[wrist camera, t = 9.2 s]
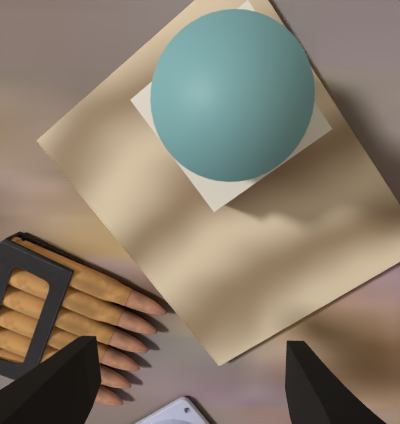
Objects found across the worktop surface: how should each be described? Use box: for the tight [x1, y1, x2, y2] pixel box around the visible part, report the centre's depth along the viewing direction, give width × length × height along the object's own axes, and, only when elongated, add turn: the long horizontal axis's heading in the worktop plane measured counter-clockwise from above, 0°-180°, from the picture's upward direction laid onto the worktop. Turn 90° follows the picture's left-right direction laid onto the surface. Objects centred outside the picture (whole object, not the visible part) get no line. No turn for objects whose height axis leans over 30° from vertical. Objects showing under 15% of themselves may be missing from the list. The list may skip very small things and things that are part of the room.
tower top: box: [131, 0, 332, 212], centre depth 14 cm, size 6×6×3 cm
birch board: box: [37, 0, 400, 366], centre depth 20 cm, size 20×16×1 cm
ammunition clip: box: [0, 232, 166, 406], centre depth 23 cm, size 11×2×12 cm
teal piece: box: [150, 9, 315, 182], centre depth 11 cm, size 4×4×4 cm
